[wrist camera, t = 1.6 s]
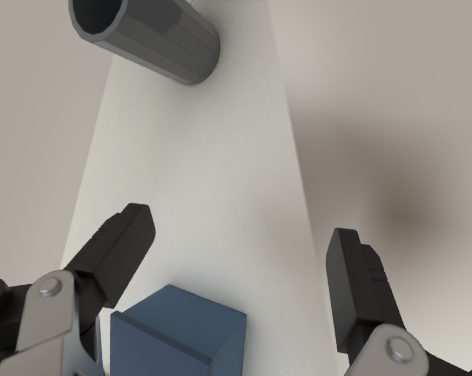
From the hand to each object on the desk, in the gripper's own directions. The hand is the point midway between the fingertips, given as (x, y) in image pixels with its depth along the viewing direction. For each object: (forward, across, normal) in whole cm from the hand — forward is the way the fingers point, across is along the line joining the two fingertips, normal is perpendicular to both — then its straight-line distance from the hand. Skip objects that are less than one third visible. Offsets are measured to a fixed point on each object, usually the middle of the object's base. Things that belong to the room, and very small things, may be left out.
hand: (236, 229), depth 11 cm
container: (+3, +4, +22) cm, 23 cm away
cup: (+19, +8, -4) cm, 21 cm away
